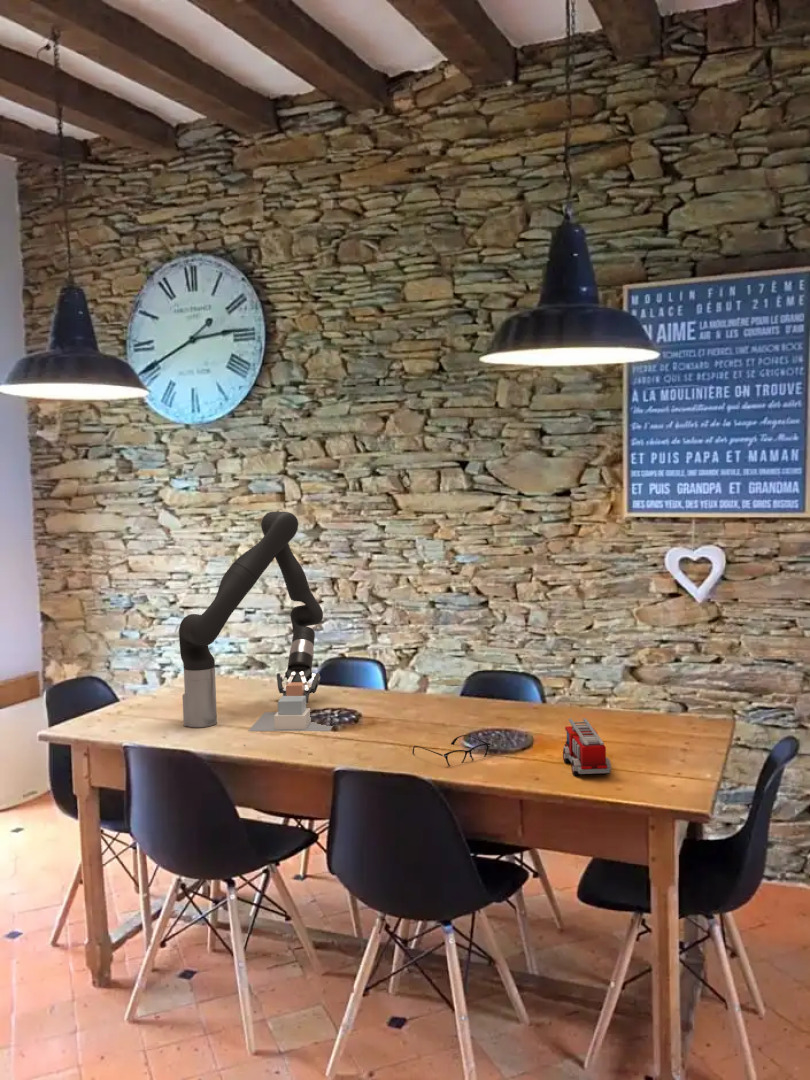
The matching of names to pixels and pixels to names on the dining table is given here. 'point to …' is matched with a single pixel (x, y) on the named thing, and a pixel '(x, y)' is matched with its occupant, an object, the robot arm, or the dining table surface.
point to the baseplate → (268, 725)
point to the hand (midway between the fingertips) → (295, 703)
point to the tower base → (290, 719)
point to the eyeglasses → (459, 750)
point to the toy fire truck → (585, 750)
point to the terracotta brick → (295, 689)
